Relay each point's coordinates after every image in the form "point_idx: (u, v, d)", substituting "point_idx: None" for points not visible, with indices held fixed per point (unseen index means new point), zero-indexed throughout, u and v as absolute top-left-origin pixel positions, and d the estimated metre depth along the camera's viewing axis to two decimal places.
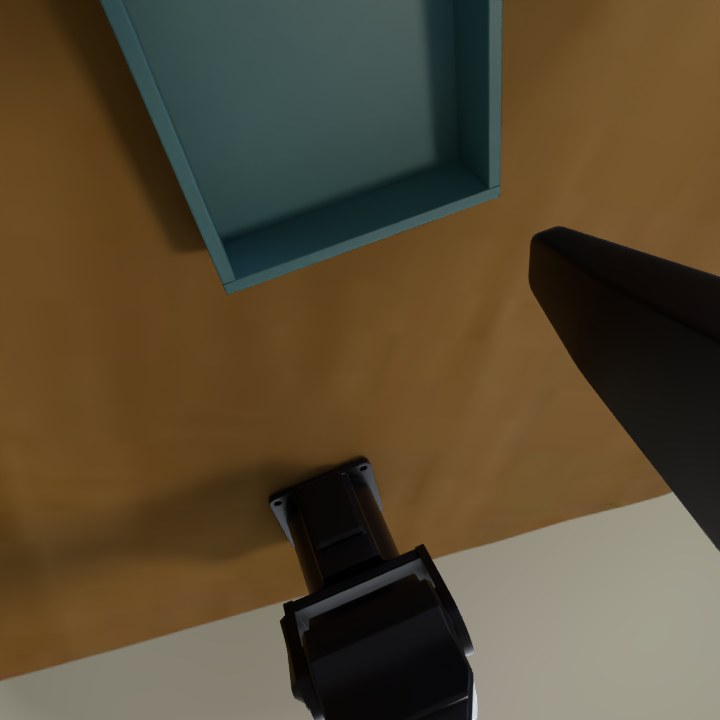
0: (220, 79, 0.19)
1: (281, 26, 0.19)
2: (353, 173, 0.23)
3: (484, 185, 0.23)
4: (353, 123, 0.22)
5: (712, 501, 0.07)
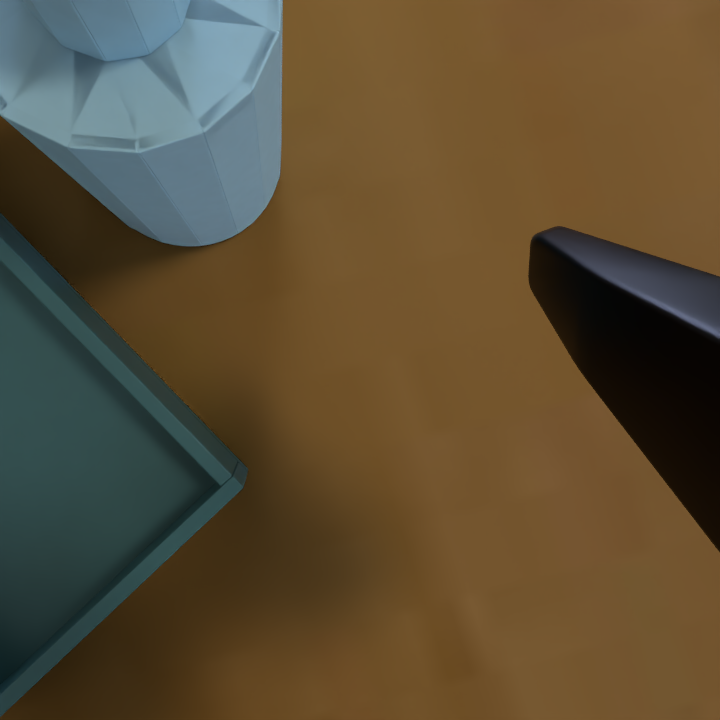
0: None
1: None
2: (109, 541, 0.21)
3: None
4: (76, 494, 0.20)
5: (712, 501, 0.07)
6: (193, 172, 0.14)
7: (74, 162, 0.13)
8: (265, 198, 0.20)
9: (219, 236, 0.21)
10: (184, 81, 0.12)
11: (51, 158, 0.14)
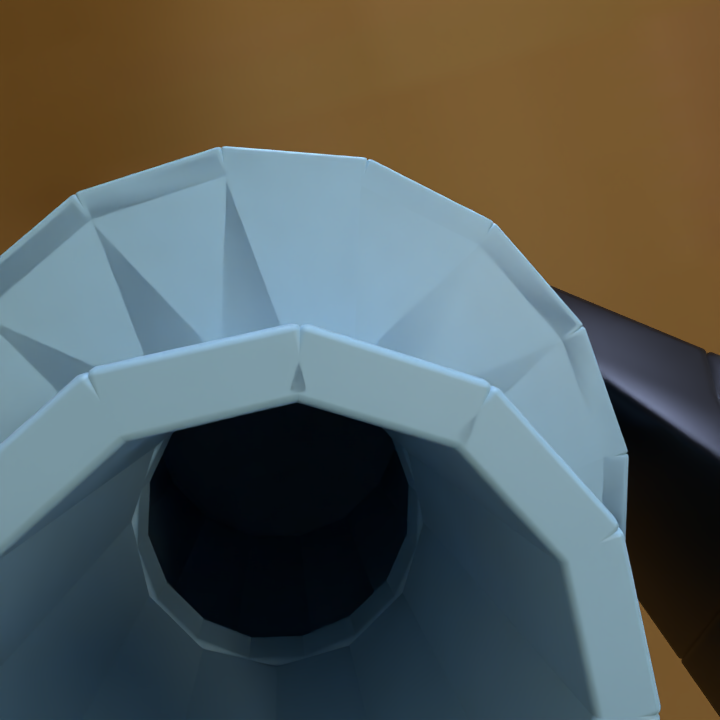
0: None
1: None
2: None
3: None
4: None
5: None
6: None
7: None
8: None
9: None
10: None
11: None
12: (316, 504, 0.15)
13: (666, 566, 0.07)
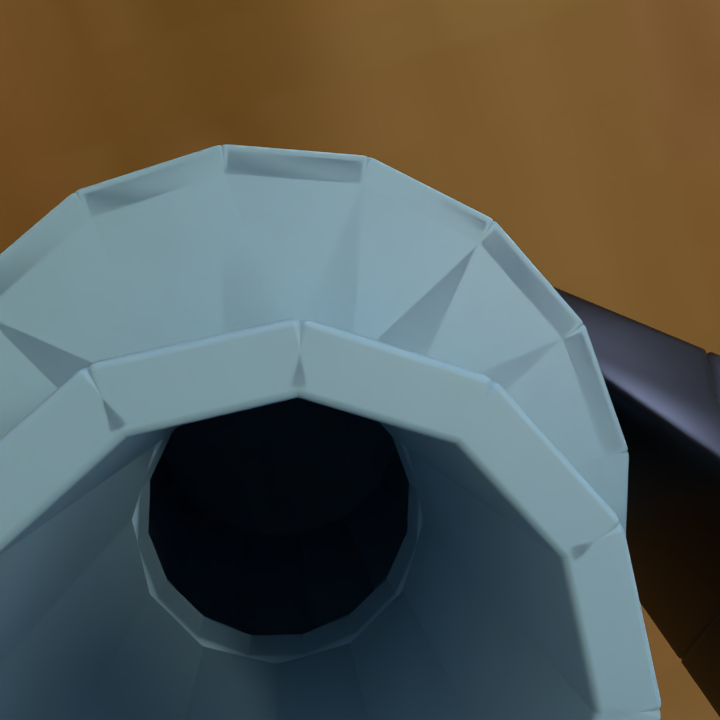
0: None
1: None
2: None
3: None
4: None
5: None
6: None
7: None
8: None
9: None
10: None
11: None
12: (316, 503, 0.15)
13: (666, 566, 0.07)
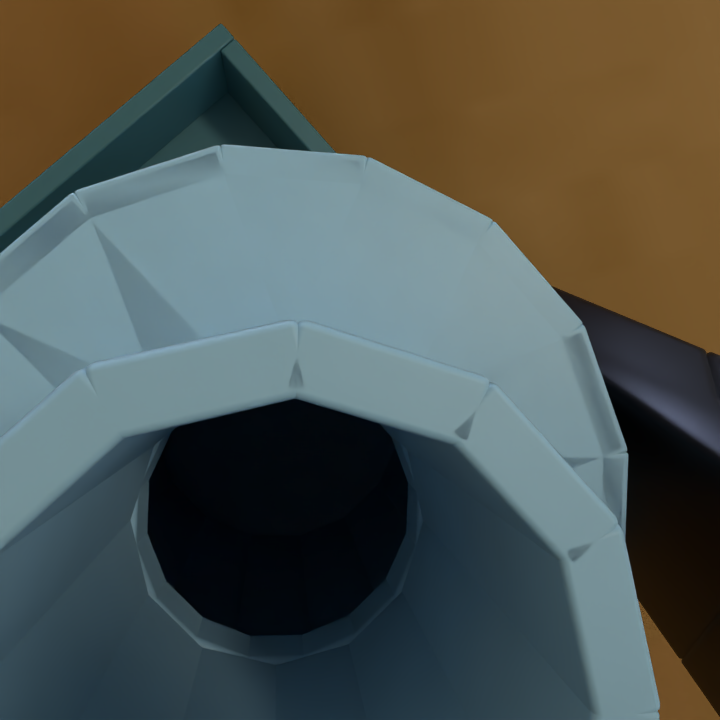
0: None
1: None
2: None
3: None
4: None
5: None
6: None
7: None
8: None
9: None
10: None
11: None
12: (316, 504, 0.15)
13: (666, 566, 0.07)
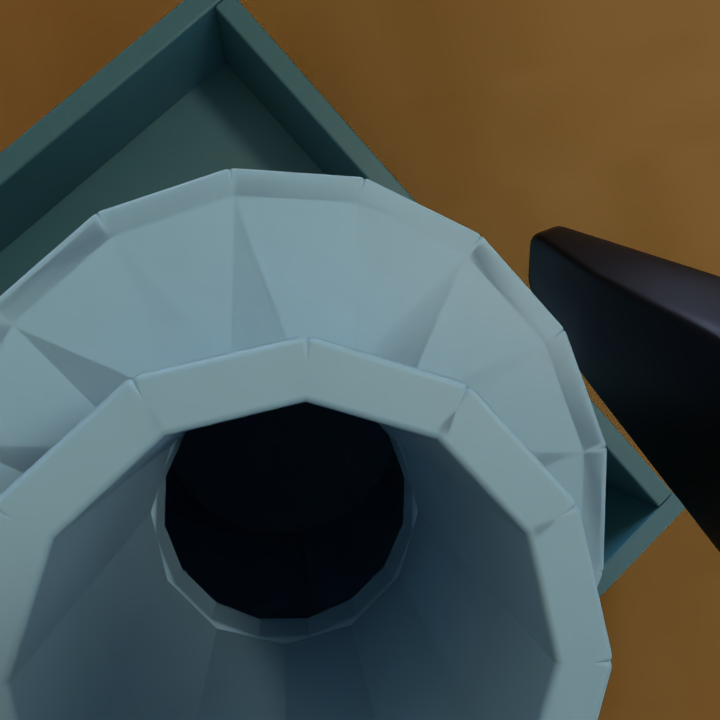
0: None
1: None
2: None
3: (650, 504, 0.15)
4: None
5: (712, 502, 0.07)
6: None
7: None
8: None
9: None
10: None
11: None
12: (317, 501, 0.15)
13: None
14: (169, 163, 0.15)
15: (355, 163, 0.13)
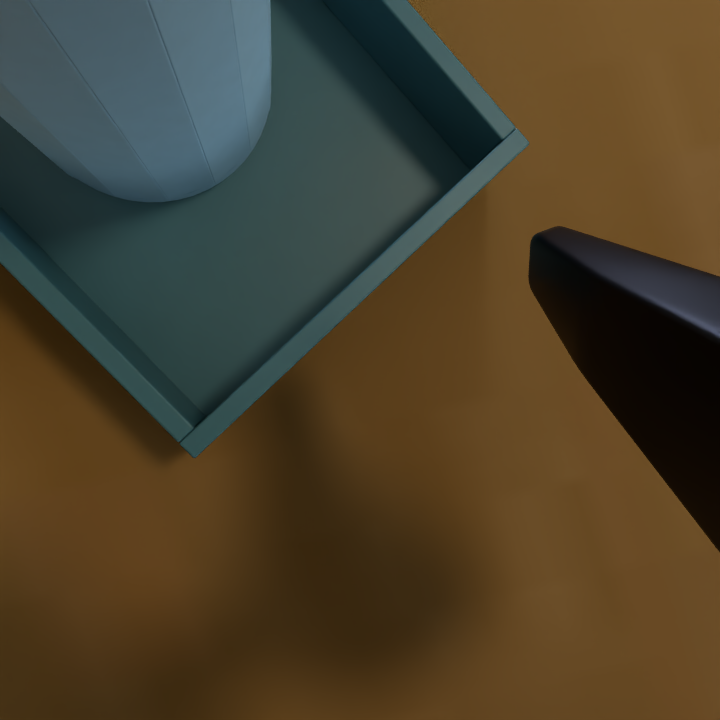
0: (106, 209, 0.16)
1: None
2: (333, 249, 0.17)
3: (497, 145, 0.15)
4: (294, 189, 0.17)
5: (711, 501, 0.07)
6: (124, 41, 0.08)
7: None
8: (250, 133, 0.15)
9: (190, 186, 0.15)
10: None
11: None
12: None
13: None
14: None
15: None
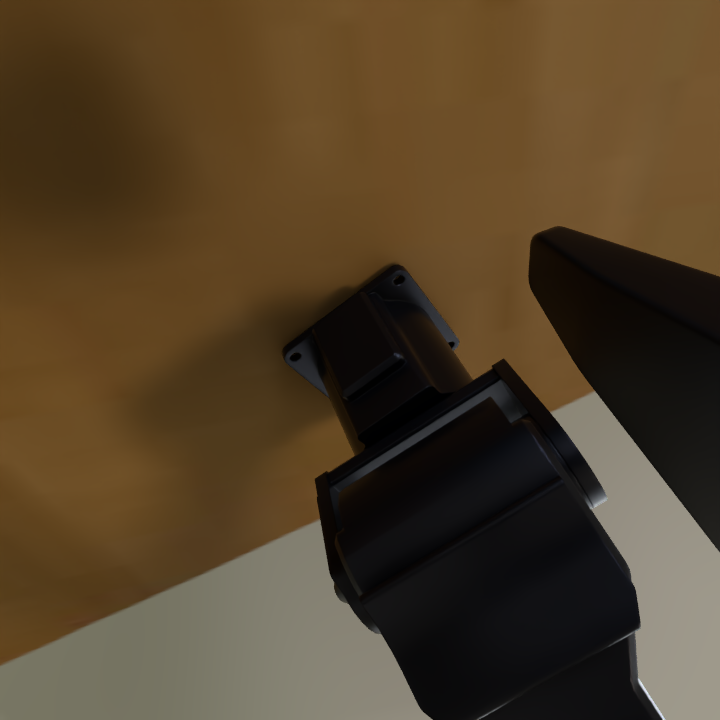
0: None
1: None
2: None
3: None
4: None
5: (711, 502, 0.07)
6: None
7: None
8: None
9: None
10: None
11: None
12: None
13: None
14: None
15: None
